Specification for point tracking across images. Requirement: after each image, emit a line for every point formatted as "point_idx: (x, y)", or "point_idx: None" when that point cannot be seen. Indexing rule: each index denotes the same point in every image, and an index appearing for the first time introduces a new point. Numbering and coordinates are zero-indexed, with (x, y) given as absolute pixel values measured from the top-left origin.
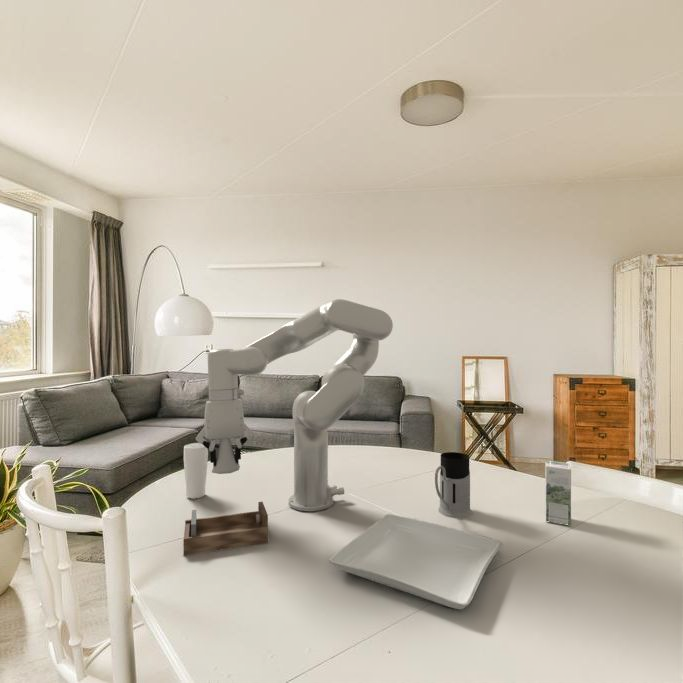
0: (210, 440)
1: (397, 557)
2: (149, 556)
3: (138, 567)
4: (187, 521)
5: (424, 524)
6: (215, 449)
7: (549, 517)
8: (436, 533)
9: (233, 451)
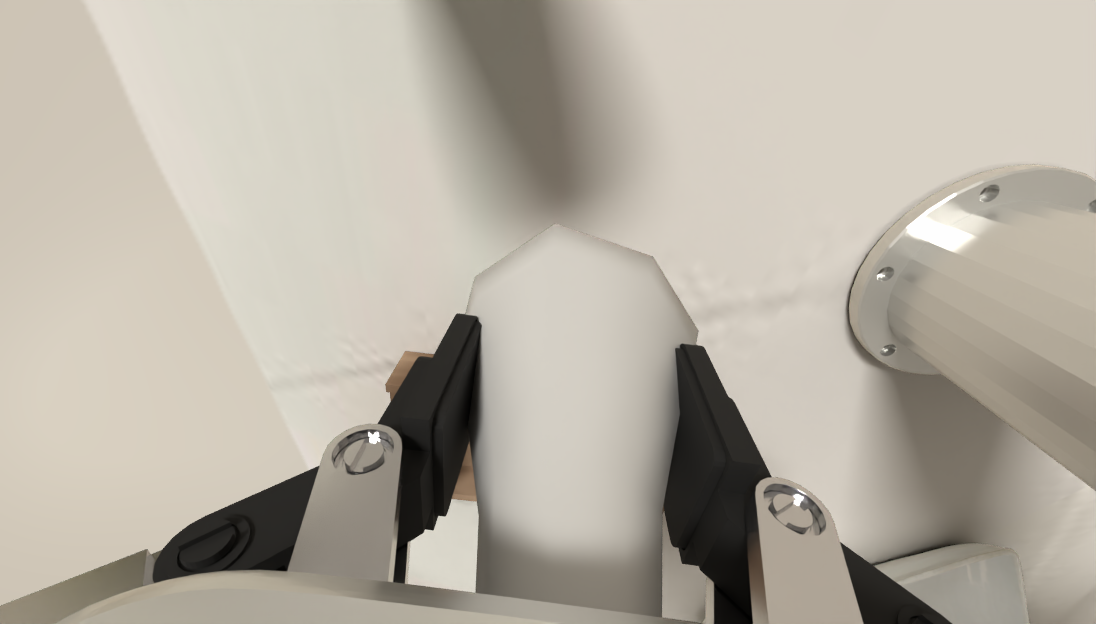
0: (294, 565)
1: None
2: (323, 427)
3: (311, 461)
4: (395, 391)
5: (1015, 607)
6: (441, 447)
7: None
8: (996, 613)
9: (669, 456)
